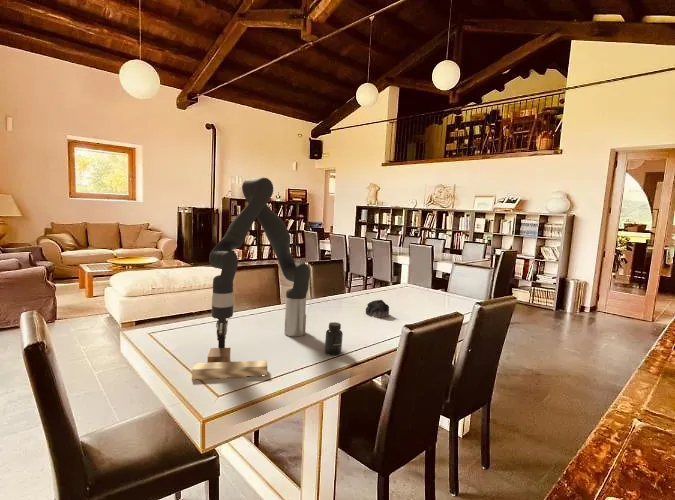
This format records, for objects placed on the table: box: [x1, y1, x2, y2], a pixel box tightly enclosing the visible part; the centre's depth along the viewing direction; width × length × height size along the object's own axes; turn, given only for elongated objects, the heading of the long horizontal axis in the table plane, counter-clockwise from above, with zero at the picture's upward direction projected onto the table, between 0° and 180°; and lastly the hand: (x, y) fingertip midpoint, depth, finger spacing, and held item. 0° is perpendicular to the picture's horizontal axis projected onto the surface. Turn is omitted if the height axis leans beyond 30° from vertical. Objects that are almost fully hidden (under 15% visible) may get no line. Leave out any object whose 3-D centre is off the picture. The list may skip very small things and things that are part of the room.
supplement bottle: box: [324, 321, 343, 356], centre depth 148 cm, size 7×7×12 cm
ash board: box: [191, 359, 268, 381], centre depth 124 cm, size 24×5×4 cm, turn 103°
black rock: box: [365, 299, 390, 318], centre depth 208 cm, size 13×14×10 cm
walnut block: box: [206, 347, 232, 363], centre depth 130 cm, size 7×8×5 cm
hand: (221, 349), depth 136 cm, fingers closed
